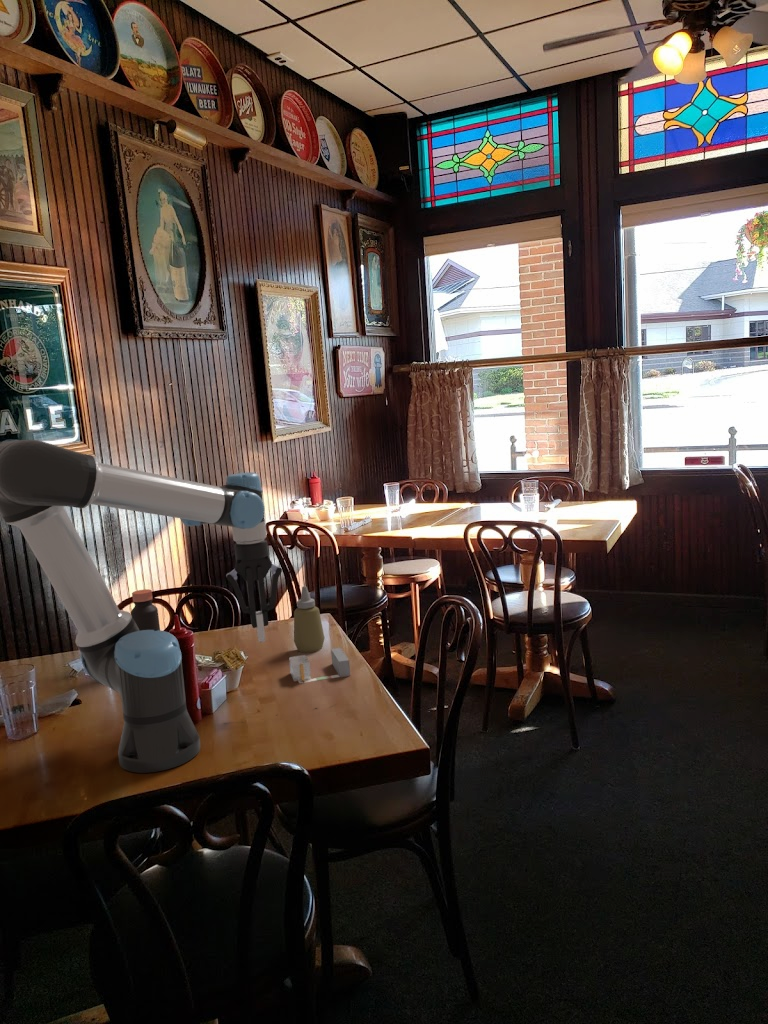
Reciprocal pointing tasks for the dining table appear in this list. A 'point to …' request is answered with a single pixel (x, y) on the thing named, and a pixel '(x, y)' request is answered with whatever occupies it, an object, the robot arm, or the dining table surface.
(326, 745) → the dining table surface
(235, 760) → the dining table surface
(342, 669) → the rail
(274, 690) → the dining table surface
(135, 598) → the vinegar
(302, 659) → the gauge carriage
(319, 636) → the squeeze bottle
